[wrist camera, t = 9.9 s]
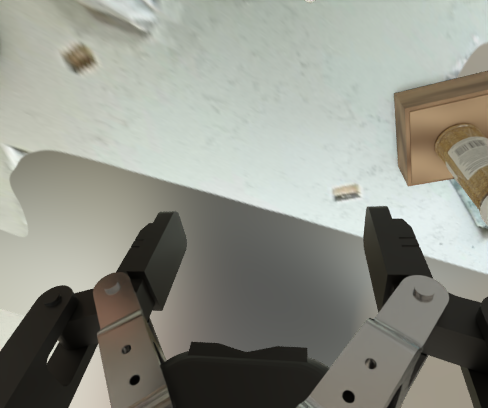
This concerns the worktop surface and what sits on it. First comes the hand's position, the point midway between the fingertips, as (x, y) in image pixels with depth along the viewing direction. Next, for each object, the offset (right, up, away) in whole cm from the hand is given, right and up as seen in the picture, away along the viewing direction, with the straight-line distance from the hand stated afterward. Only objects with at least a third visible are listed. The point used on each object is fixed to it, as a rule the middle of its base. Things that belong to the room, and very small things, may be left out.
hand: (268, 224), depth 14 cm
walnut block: (+23, +11, +26) cm, 36 cm away
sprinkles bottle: (+22, +8, +22) cm, 32 cm away
